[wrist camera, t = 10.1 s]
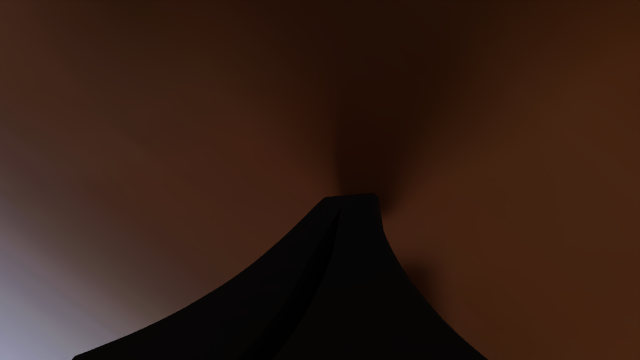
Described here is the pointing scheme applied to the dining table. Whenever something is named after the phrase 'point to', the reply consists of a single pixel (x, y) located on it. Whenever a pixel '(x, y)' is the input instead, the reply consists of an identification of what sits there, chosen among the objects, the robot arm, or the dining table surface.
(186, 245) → the dining table surface
